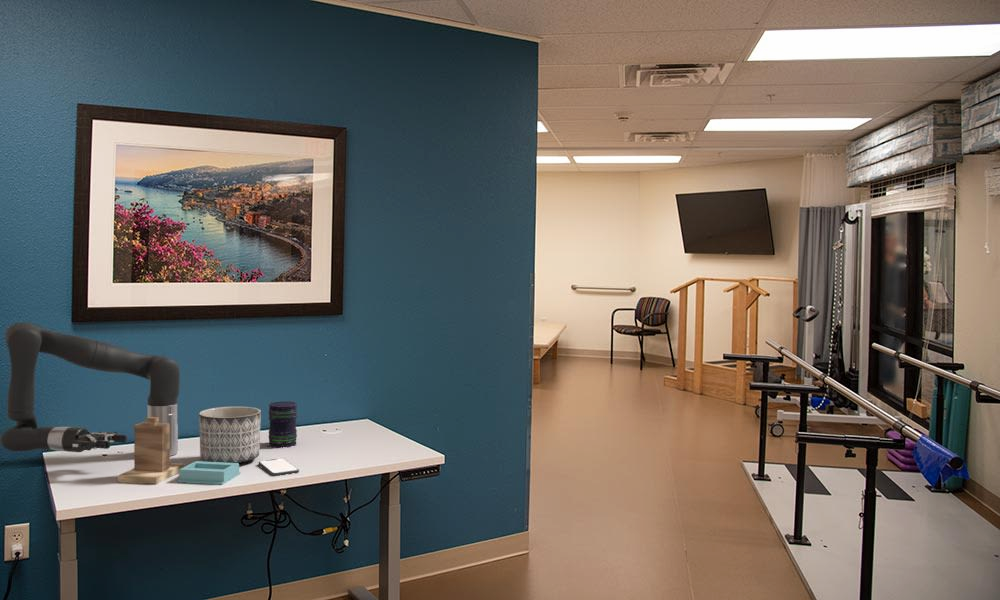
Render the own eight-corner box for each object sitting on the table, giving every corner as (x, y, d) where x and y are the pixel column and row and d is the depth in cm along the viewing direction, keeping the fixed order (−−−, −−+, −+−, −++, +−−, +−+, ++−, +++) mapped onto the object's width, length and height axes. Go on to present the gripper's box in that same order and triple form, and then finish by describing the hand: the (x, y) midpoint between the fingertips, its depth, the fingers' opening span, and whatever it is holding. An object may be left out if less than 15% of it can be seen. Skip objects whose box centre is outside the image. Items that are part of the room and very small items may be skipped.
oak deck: (148, 468, 244) (148, 461, 244) (184, 469, 243) (184, 463, 243) (117, 482, 228) (117, 475, 228) (156, 484, 227) (156, 477, 227)
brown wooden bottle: (141, 467, 238) (141, 415, 237) (169, 468, 237) (169, 417, 236) (134, 470, 234) (134, 418, 233) (162, 471, 233) (162, 419, 232)
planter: (187, 461, 253) (187, 412, 252) (238, 451, 268) (238, 404, 267) (220, 472, 241) (221, 420, 240) (272, 460, 256) (272, 411, 256)
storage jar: (280, 440, 285) (280, 400, 284) (302, 443, 281) (302, 402, 281) (262, 446, 276) (262, 404, 275) (285, 449, 272) (285, 407, 272)
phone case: (300, 474, 243) (283, 462, 256) (300, 469, 242) (284, 457, 256) (272, 478, 238) (257, 466, 251) (272, 473, 237) (257, 461, 251)
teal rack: (197, 471, 241) (197, 460, 241) (240, 473, 240) (240, 462, 240) (177, 482, 229) (177, 470, 229) (222, 484, 228) (222, 472, 228)
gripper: (52, 432, 231) (103, 434, 229) (83, 422, 245) (131, 424, 243) (52, 456, 231) (103, 459, 229) (83, 445, 245) (131, 448, 243)
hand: (117, 441), depth 236 cm, fingers open, 8 cm apart
